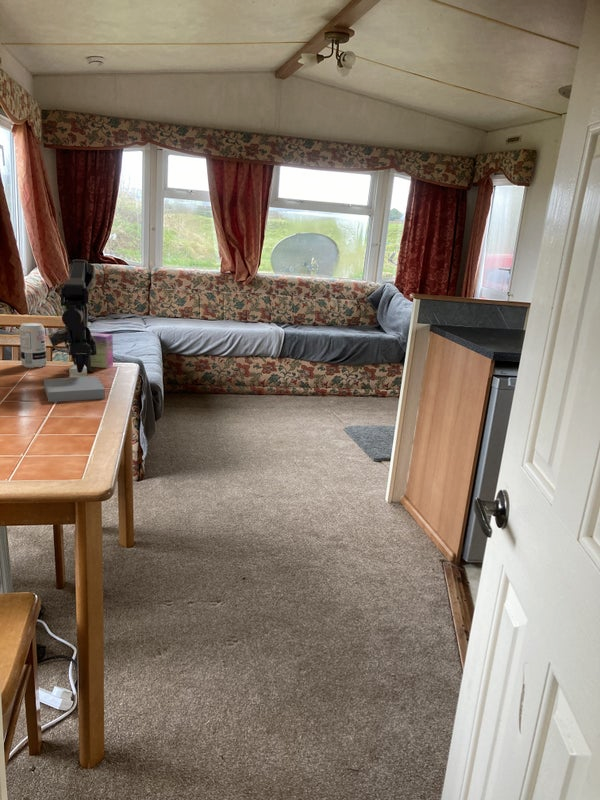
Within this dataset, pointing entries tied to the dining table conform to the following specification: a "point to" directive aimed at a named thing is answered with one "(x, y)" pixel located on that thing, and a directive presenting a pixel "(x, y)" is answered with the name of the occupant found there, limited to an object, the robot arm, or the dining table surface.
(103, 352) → the box
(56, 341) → the robot arm
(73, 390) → the base board
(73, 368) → the cube
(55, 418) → the dining table surface
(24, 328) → the supplement can
